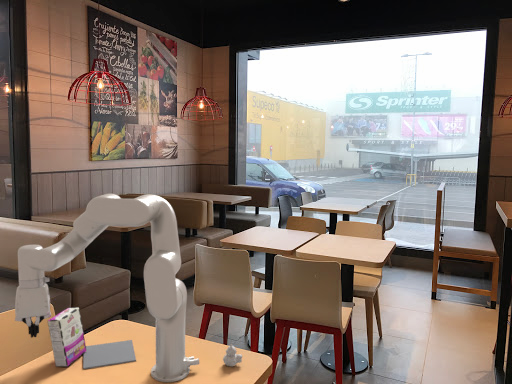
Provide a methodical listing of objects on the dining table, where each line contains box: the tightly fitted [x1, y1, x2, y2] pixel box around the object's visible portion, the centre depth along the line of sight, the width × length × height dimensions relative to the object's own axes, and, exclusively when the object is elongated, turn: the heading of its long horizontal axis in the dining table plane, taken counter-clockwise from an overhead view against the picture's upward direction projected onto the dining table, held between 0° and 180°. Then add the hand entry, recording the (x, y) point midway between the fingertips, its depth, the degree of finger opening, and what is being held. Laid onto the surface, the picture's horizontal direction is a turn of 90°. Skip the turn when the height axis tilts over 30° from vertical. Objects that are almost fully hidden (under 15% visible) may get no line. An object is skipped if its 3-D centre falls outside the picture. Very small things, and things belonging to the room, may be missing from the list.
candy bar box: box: [47, 307, 87, 368], centre depth 147 cm, size 11×5×16 cm, turn 168°
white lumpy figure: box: [222, 342, 243, 367], centre depth 147 cm, size 5×7×8 cm
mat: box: [82, 339, 137, 370], centre depth 153 cm, size 17×16×1 cm
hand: (34, 335), depth 143 cm, fingers closed
